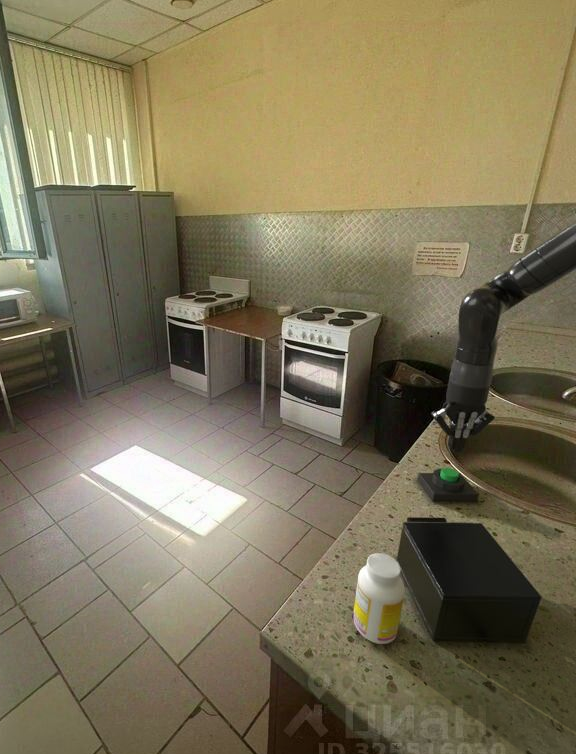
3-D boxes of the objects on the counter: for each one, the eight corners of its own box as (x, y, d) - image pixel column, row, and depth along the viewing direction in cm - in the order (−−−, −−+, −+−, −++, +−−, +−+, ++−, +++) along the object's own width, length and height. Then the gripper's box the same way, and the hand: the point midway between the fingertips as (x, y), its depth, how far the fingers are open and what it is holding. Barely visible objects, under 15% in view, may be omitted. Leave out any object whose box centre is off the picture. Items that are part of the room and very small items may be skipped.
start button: (452, 473, 94) (453, 467, 94) (460, 483, 91) (462, 476, 90) (437, 473, 94) (438, 467, 94) (444, 482, 91) (445, 476, 90)
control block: (458, 480, 97) (461, 466, 96) (477, 502, 90) (480, 487, 88) (417, 480, 98) (419, 466, 96) (432, 501, 90) (435, 487, 89)
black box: (395, 563, 75) (403, 522, 71) (470, 564, 74) (481, 522, 71) (432, 641, 61) (443, 595, 57) (525, 643, 60) (542, 596, 57)
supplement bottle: (400, 619, 64) (412, 559, 60) (391, 654, 59) (404, 592, 55) (359, 599, 68) (367, 541, 63) (347, 631, 63) (355, 570, 58)
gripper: (446, 387, 81) (433, 459, 87) (513, 386, 80) (495, 459, 86) (429, 374, 88) (418, 441, 94) (491, 373, 87) (475, 441, 93)
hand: (455, 449), depth 90 cm, fingers closed
